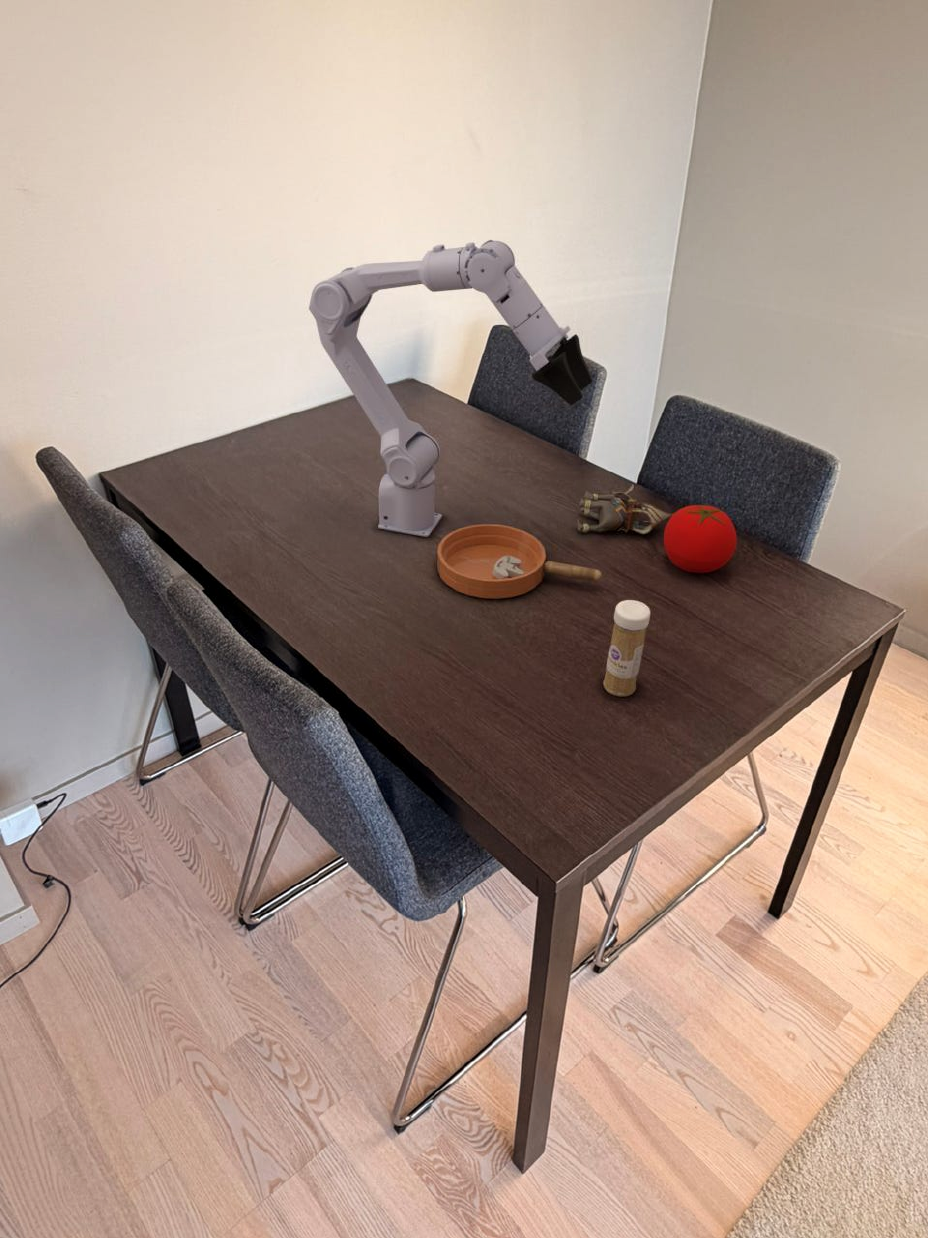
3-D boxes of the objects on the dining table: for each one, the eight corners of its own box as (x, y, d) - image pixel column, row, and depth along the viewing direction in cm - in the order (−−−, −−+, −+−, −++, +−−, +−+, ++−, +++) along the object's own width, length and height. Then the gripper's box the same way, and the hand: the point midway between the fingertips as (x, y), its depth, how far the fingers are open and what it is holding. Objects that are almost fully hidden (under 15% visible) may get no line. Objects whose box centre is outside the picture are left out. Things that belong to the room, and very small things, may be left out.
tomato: (673, 586, 142) (685, 530, 135) (649, 547, 151) (659, 493, 145) (739, 582, 143) (753, 526, 137) (711, 543, 153) (723, 490, 147)
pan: (422, 588, 139) (422, 569, 137) (455, 534, 153) (456, 516, 151) (529, 609, 135) (531, 589, 133) (553, 552, 149) (555, 534, 147)
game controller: (521, 586, 140) (522, 572, 138) (450, 577, 142) (451, 563, 140) (525, 567, 144) (526, 553, 143) (457, 559, 146) (457, 545, 144)
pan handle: (541, 574, 140) (542, 563, 139) (544, 568, 142) (545, 557, 141) (600, 585, 138) (601, 574, 137) (602, 578, 140) (603, 568, 139)
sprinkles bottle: (596, 688, 120) (608, 609, 113) (614, 672, 123) (627, 594, 115) (625, 703, 118) (639, 623, 110) (642, 686, 121) (657, 607, 113)
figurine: (586, 469, 163) (677, 480, 161) (582, 499, 166) (671, 510, 164) (576, 514, 147) (678, 528, 144) (572, 546, 150) (671, 560, 147)
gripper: (537, 312, 120) (594, 392, 123) (560, 290, 131) (611, 363, 135) (499, 343, 124) (555, 420, 127) (524, 318, 135) (575, 389, 139)
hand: (582, 393), depth 131 cm, fingers open, 7 cm apart
